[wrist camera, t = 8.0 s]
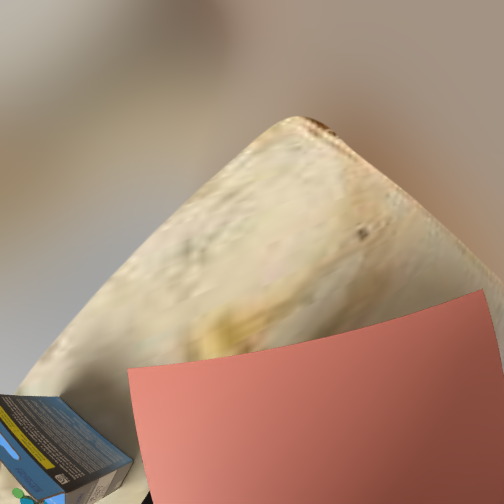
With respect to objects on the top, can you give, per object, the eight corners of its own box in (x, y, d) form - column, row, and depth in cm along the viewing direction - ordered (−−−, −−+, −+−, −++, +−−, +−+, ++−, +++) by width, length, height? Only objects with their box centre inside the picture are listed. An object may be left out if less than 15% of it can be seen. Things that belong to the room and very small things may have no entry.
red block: (347, 446, 13) (502, 548, 2) (252, 467, 13) (208, 636, 1) (330, 358, 15) (482, 289, 4) (234, 378, 15) (127, 368, 3)
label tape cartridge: (44, 425, 20) (-60, 425, 8) (59, 394, 21) (-50, 383, 9) (118, 490, 17) (24, 538, 6) (136, 459, 19) (38, 502, 7)
